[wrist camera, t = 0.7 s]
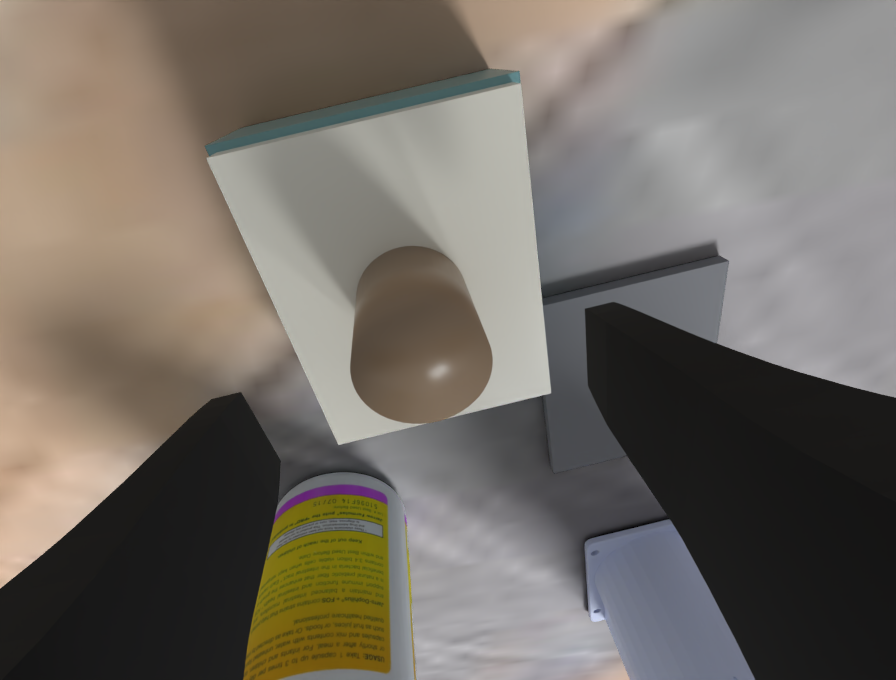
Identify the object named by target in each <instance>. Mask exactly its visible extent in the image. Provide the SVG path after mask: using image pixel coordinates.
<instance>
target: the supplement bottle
mask: <svg viewBox="0 0 896 680" xmlns="http://www.w3.org/2000/svg"><path fill="white" fill-rule="evenodd" d="M243 680H417V672H416V659H415V643H414V628H413V614H412V597H411V580H410V564H409V548H408V534H407V521H406V513H405V508H404V505H403V502H402V500H401V499H400V497H399V496H398V494H397V493H396V492H395V491H394V490H393V489H392V488H391V487H390V486H388V485H387V484H385V483H384V482H382V481H380V480H378V479H376V478H374V477H371V476H368V475H364V474H358V473H351V472H337V473H329V474H324V475H320V476H316V477H313V478H310V479H308V480H306V481H304V482H302V483H300V484H298V485H297V486H295V487H294V488H293V489H291V490H290V491H289V492H288V493H287V494H286V495H285V496H284V497H283V498H282V500H281V501H280V503H279V504H278V506H277V510H276V515H275V519H274V524H273V529H272V533H271V538H270V543H269V547H268V552H267V556H266V560H265V565H264V569H263V574H262V578H261V583H260V587H259V591H258V596H257V600H256V605H255V609H254V614H253V618H252V624H251V629H250V635H249V640H248V646H247V654H246V662H245V670H244V678H243Z"/></svg>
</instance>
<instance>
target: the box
mask: <svg viewBox="0 0 896 680" xmlns="http://www.w3.org/2000/svg"><path fill="white" fill-rule="evenodd" d="M510 82H515V83H520V73H519V71H512V70H499V69H487V70H483V71H479V72H474V73H470V74H466V75H462V76H458V77H453V78H449V79H445V80H441V81H437V82H432V83H428V84H424V85H420V86H416V87H411V88H407V89H403V90H399V91H394V92H390V93H386V94H382V95H378V96H373V97H369V98H365V99H361V100H357V101H352V102H348V103H344V104H340V105H336V106H331V107H327V108H323V109H319V110H315V111H310V112H306V113H302V114H298V115H294V116H289V117H285V118H281V119H277V120H272V121H268V122H264V123H260V124H256V125H251V126H247V127H243V128H240V129H238V130H236V131H234V132H232V133H230V134H228V135H226V136H224V137H222V138H220V139H218V140H216V141H214V142H212V143H210V144H208V145H206V146H205V148H206V150H207V152H208V154H209V156H211V155H213V154H215V153H216V152H221V151H225V150H229V149H233V148H237V147H242V146H246V145H250V144H254V143H258V142H263V141H267V140H271V139H275V138H279V137H284V136H288V135H292V134H296V133H300V132H305V131H309V130H313V129H317V128H321V127H326V126H330V125H334V124H338V123H342V122H347V121H351V120H355V119H359V118H363V117H368V116H372V115H376V114H380V113H384V112H389V111H393V110H397V109H401V108H405V107H410V106H414V105H418V104H422V103H426V102H431V101H435V100H439V99H443V98H447V97H452V96H456V95H460V94H464V93H468V92H473V91H477V90H481V89H485V88H489V87H494V86H498V85H502V84H506V83H510Z"/></svg>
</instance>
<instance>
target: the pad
mask: <svg viewBox="0 0 896 680" xmlns="http://www.w3.org/2000/svg"><path fill="white" fill-rule="evenodd" d="M728 265H729V261H728V260H726V259H725V258H723V257H721V256H716V257H712V258H708V259H703V260H699V261H695V262H691V263H687V264H683V265H679V266H675V267H670V268H666V269H662V270H658V271H654V272H650V273H646V274H641V275H637V276H633V277H629V278H625V279H621V280H617V281H612V282H608V283H604V284H600V285H596V286H592V287H588V288H583V289H579V290H575V291H571V292H567V293H563V294H559V295H555V296H550V297H546V298H542V303H543V314H544V324H545V334H546V344H547V355H548V365H549V375H550V385H551V393H550V394H546V395H542V397H543V406H544V415H545V424H546V433H547V441H548V450H549V459H550V466H551V468H552V471H553V473H554V474H555V473H559V472H563V471H567V470H571V469H575V468H579V467H584V466H588V465H592V464H596V463H600V462H604V461H608V460H612V459H616V458H620V457H624V456H627V455H626V453H625V452H624V450H623V449H622V447H621V446H620V444H619V443H618V441H617V440H616V438H615V437H614V435H613V434H612V432H611V430H610V429H609V427H608V426H607V424H606V422H605V420H604V418H603V416H602V414H601V412H600V410H599V408H598V406H597V404H596V402H595V400H594V398H593V396H592V394H591V392H590V390H589V387H588V378H587V353H586V328H585V309H586V308H590V307H594V306H598V305H602V304H606V303H610V302H616V303H619V304H622V305H625V306H627V307H630V308H632V309H635V310H637V311H640V312H642V313H644V314H647V315H649V316H651V317H654V318H656V319H658V320H661V321H663V322H665V323H668V324H670V325H672V326H675V327H677V328H680V329H682V330H684V331H687V332H689V333H692V334H694V335H696V336H699V337H701V338H704V339H706V340H709V341H711V342H714V343H717V340H718V333H719V326H720V320H721V313H722V306H723V299H724V292H725V285H726V278H727V271H728Z"/></svg>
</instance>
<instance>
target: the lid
mask: <svg viewBox="0 0 896 680" xmlns="http://www.w3.org/2000/svg"><path fill="white" fill-rule="evenodd" d="M206 159H207V161H208V163H209V166H210V168H211V170H212V172H213V174H214V176H215V179H216V181H217V183H218V185H219V187H220V189H221V192H222V194H223V196H224V198H225V200H226V202H227V205H228V207H229V209H230V211H231V213H232V215H233V218H234V220H235V222H236V224H237V226H238V228H239V231H240V233H241V235H242V237H243V239H244V241H245V244H246V246H247V248H248V250H249V252H250V254H251V257H252V259H253V261H254V263H255V265H256V267H257V270H258V272H259V274H260V276H261V278H262V280H263V283H264V285H265V287H266V289H267V291H268V293H269V296H270V298H271V300H272V302H273V304H274V306H275V309H276V311H277V313H278V315H279V317H280V319H281V322H282V324H283V326H284V328H285V330H286V332H287V335H288V337H289V339H290V341H291V343H292V345H293V348H294V350H295V352H296V354H297V356H298V358H299V361H300V363H301V365H302V367H303V369H304V371H305V374H306V376H307V378H308V380H309V382H310V384H311V387H312V389H313V391H314V393H315V395H316V397H317V400H318V402H319V404H320V406H321V408H322V410H323V413H324V415H325V417H326V419H327V421H328V423H329V426H330V428H331V430H332V432H333V434H334V436H335V439H336V441H337V443H338V445H341V444H345V443H349V442H353V441H357V440H361V439H365V438H369V437H373V436H378V435H382V434H386V433H390V432H394V431H398V430H402V429H406V428H410V427H415V426H419V425H423V424H427V423H431V422H437V421H440V420H444V419H448V418H452V417H456V416H460V415H464V414H468V413H472V412H476V411H480V410H485V409H489V408H493V407H497V406H501V405H505V404H509V403H513V402H517V401H522V400H526V399H530V398H534V397H538V396H542V395H546V394H550V393H551V385H550V375H549V365H548V355H547V344H546V334H545V324H544V314H543V303H542V293H541V283H540V273H539V263H538V252H537V242H536V232H535V222H534V211H533V201H532V191H531V181H530V171H529V160H528V150H527V140H526V130H525V120H524V109H523V99H522V89H521V83H515V82H510V83H506V84H502V85H498V86H494V87H489V88H485V89H481V90H477V91H473V92H468V93H464V94H460V95H456V96H452V97H447V98H443V99H439V100H435V101H431V102H426V103H422V104H418V105H414V106H410V107H405V108H401V109H397V110H393V111H389V112H384V113H380V114H376V115H372V116H368V117H363V118H359V119H355V120H351V121H347V122H342V123H338V124H334V125H330V126H326V127H321V128H317V129H313V130H309V131H305V132H300V133H296V134H292V135H288V136H284V137H279V138H275V139H271V140H267V141H263V142H258V143H254V144H250V145H246V146H242V147H237V148H233V149H229V150H225V151H221V152H216V153H215V154H213V155H211V156H209V157H208V158H206Z"/></svg>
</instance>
